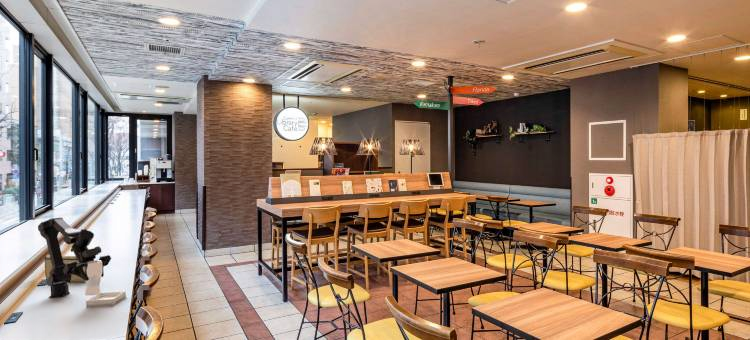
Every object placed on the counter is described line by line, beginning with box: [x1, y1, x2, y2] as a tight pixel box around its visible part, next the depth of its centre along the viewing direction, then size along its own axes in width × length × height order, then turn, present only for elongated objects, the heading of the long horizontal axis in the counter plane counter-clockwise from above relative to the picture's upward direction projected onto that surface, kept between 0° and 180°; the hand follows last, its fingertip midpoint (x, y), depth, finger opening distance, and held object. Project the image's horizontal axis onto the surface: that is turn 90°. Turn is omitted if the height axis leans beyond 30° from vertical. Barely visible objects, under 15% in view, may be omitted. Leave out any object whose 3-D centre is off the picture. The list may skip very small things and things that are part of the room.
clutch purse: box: [43, 254, 86, 283], centre depth 236 cm, size 30×7×15 cm, turn 80°
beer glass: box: [84, 260, 104, 296], centre depth 192 cm, size 7×7×15 cm
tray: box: [85, 290, 127, 308], centre depth 198 cm, size 12×12×3 cm
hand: (95, 278), depth 192 cm, fingers closed on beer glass, 6 cm apart
